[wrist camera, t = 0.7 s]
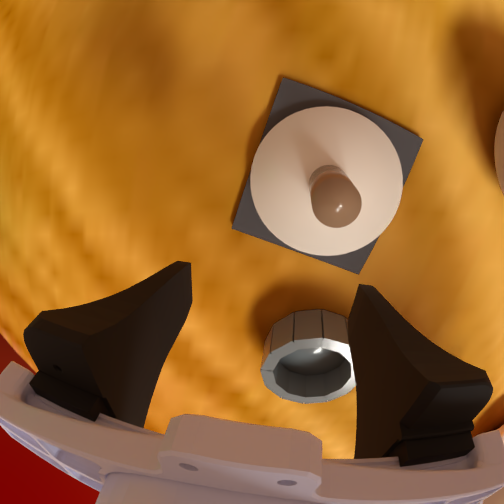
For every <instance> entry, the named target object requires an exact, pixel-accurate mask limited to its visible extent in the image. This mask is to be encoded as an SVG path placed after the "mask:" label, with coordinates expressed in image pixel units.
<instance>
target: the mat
mask: <svg viewBox="0 0 504 504" xmlns="http://www.w3.org/2000/svg"><path fill="white" fill-rule="evenodd" d="M324 106H329V107H339V108H344V109H348V110H351V111H353V112H356V113H359V114H360V115H362V116H364V117H366V118H368V119H369V120H371V121H372V122H373V123H375V124H376V125H377V126H378V127H379V128H380V129H381V130H382V131H383V132H384V133H385V134H386V136H387V137H388V138H389V139H390V141H391V143H392V144H393V146H394V148H395V150H396V152H397V154H398V157H399V160H400V164H401V168H402V175H403V186H404V184H405V182H406V179H407V177H408V175H409V173H410V170H411V168H412V166H413V163H414V161H415V159H416V156H417V154H418V151H419V149H420V146H421V144H422V141H423V139H422V138H420V137H418V136H416V135H415V134H413V133H411V132H409V131H407V130H406V129H404V128H402V127H400V126H398V125H396V124H394V123H392V122H390V121H388V120H386V119H384V118H382V117H380V116H378V115H376V114H374V113H372V112H370V111H368V110H365V109H363V108H361V107H359V106H357V105H354V104H352V103H350V102H347V101H345V100H343V99H340V98H338V97H335V96H333V95H330V94H328V93H325V92H323V91H320V90H318V89H315V88H312V87H310V86H307V85H304V84H301V83H298V82H295V81H292V80H290V79H286V78H283V79H282V82H281V84H280V87H279V90H278V93H277V95H276V98H275V101H274V104H273V107H272V110H271V112H270V115H269V118H268V121H267V124H266V127H265V130H264V133H263V136H262V138H261V141H260V144H261V142H262V140H263V139H264V137H265V136H266V135H267V134H268V132H269V131H270V130H271V129H272V128H273V127H274V126H275V125H277V124H278V123H279V122H280V121H282V120H283V119H285V118H286V117H288V116H290V115H292V114H294V113H296V112H299V111H301V110H304V109H309V108H313V107H324ZM260 144H259V145H260ZM250 176H251V171H250V174H249V177H248V180H247V183H246V186H245V189H244V192H243V195H242V198H241V201H240V204H239V207H238V210H237V213H236V217H235V220H234V223H233V226H232V229H235V230H237V231H240V232H243V233H246V234H249V235H252V236H254V237H257V238H260V239H263V240H266V241H268V242H271V243H274V244H277V245H279V246H282V247H285V248H288V249H291V250H293V251H296V252H299V253H302V254H304V255H307V256H310V257H313V258H315V259H318V260H321V261H324V262H326V263H329V264H332V265H334V266H337V267H340V268H343V269H345V270H348V271H351V272H353V273H356V274H359V273H360V271H361V269H362V268H363V266H364V264H365V262H366V260H367V258H368V257H369V255H370V253H371V251H372V249H373V247H374V245H375V243H376V241H377V239H378V238H379V236H380V235H379V236H378V237H377V238H376V239H374V240H373V241H372V242H370V243H369V244H367V245H366V246H364V247H362V248H360V249H358V250H355V251H352V252H349V253H346V254H341V255H333V256H321V255H313V254H308V253H305V252H302V251H299V250H297V249H294V248H292V247H290V246H288V245H287V244H285V243H283V242H282V241H281V240H280V239H278V238H277V237H276V236H275V235H274V234H273V233H272V232H271V231H270V230H269V229H268V228H267V227H266V225H265V224H264V223H263V221H262V220H261V218H260V216H259V215H258V212H257V210H256V208H255V205H254V202H253V198H252V193H251V187H250Z"/></svg>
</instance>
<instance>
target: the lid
mask: <svg viewBox="0 0 504 504" xmlns="http://www.w3.org/2000/svg"><path fill="white" fill-rule="evenodd" d="M250 187H251V193H252V198H253V202H254V205H255V208H256V210H257V212H258V215H259V216H260V218H261V220H262V221H263V223H264V224H265V225H266V227H267V228H268V229H269V230H270V231H271V232H272V233H273V234H274V235H275V236H276V237H277V238H278V239H280V240H281V241H282V242H283V243H285V244H287V245H288V246H290V247H292V248H294V249H297V250H299V251H302V252H305V253H308V254H313V255H321V256H333V255H341V254H346V253H349V252H352V251H355V250H358V249H360V248H362V247H364V246H366V245H367V244H369V243H370V242H372V241H373V240H374V239H376V238H377V237H378V236H379V235H380V234H381V233H382V232H383V231H384V230H385V229H386V228H387V226H388V225H389V224H390V222H391V221H392V219H393V217H394V215H395V214H396V211H397V209H398V206H399V203H400V200H401V196H402V188H403V175H402V168H401V164H400V160H399V157H398V154H397V152H396V150H395V148H394V146H393V144H392V143H391V141H390V139H389V138H388V137H387V136H386V134H385V133H384V132H383V131H382V130H381V129H380V128H379V127H378V126H377V125H376V124H375V123H373V122H372V121H371V120H369V119H368V118H366V117H364V116H362V115H360V114H359V113H356V112H353V111H351V110H348V109H344V108H339V107H329V106H324V107H313V108H309V109H304V110H301V111H299V112H296V113H294V114H292V115H290V116H288V117H286V118H285V119H283V120H282V121H280V122H279V123H278V124H277V125H275V126H274V127H273V128H272V129H271V130H270V131H269V132H268V134H267V135H266V136H265V137H264V139H263V140H262V142H261V144H260V145H259V147H258V149H257V152H256V154H255V156H254V160H253V163H252V167H251V176H250Z"/></svg>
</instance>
